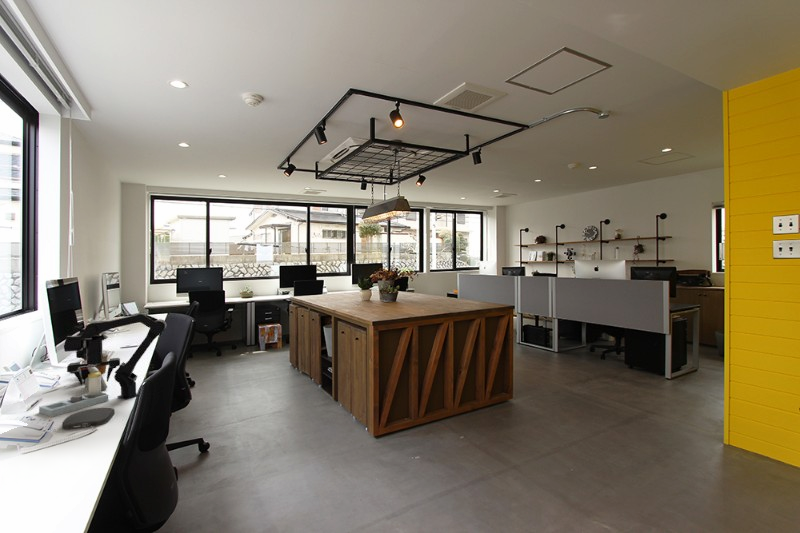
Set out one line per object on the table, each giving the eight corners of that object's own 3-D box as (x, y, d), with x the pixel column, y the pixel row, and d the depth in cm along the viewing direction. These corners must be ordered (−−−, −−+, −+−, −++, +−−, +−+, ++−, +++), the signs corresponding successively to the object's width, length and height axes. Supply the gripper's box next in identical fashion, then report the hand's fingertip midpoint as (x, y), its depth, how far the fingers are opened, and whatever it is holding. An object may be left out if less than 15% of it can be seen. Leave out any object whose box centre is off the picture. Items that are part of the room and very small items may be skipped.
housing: (108, 400, 176) (108, 394, 176) (51, 417, 157) (51, 410, 157) (96, 396, 180) (96, 391, 180) (39, 412, 161) (39, 406, 161)
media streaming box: (117, 412, 163) (117, 405, 163) (105, 426, 150) (105, 418, 150) (74, 417, 158) (74, 410, 158) (58, 432, 144) (58, 424, 144)
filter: (70, 385, 196) (70, 327, 195) (75, 380, 204) (75, 324, 203) (103, 381, 202) (103, 325, 201) (107, 377, 210) (107, 322, 209)
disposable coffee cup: (90, 371, 219) (90, 351, 219) (110, 370, 223) (110, 349, 223) (85, 376, 211) (85, 354, 210) (106, 374, 215) (106, 353, 214)
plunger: (84, 403, 170) (84, 396, 170) (73, 406, 167) (73, 399, 166) (79, 401, 172) (79, 394, 172) (68, 404, 168) (68, 397, 168)
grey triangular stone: (107, 390, 189) (107, 369, 189) (83, 394, 184) (83, 372, 184) (107, 381, 202) (107, 361, 202) (85, 385, 197) (85, 364, 197)
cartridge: (103, 393, 177) (103, 373, 176) (92, 396, 172) (91, 376, 172) (98, 391, 179) (97, 371, 178) (86, 395, 174) (86, 374, 174)
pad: (106, 394, 177) (106, 393, 177) (91, 398, 171) (91, 397, 171) (98, 391, 180) (98, 391, 180) (82, 396, 174) (82, 395, 174)
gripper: (120, 343, 187) (120, 375, 187) (70, 348, 176) (70, 382, 177) (119, 348, 178) (119, 381, 178) (66, 353, 167) (67, 388, 168)
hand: (94, 383), depth 175 cm, fingers open, 9 cm apart
